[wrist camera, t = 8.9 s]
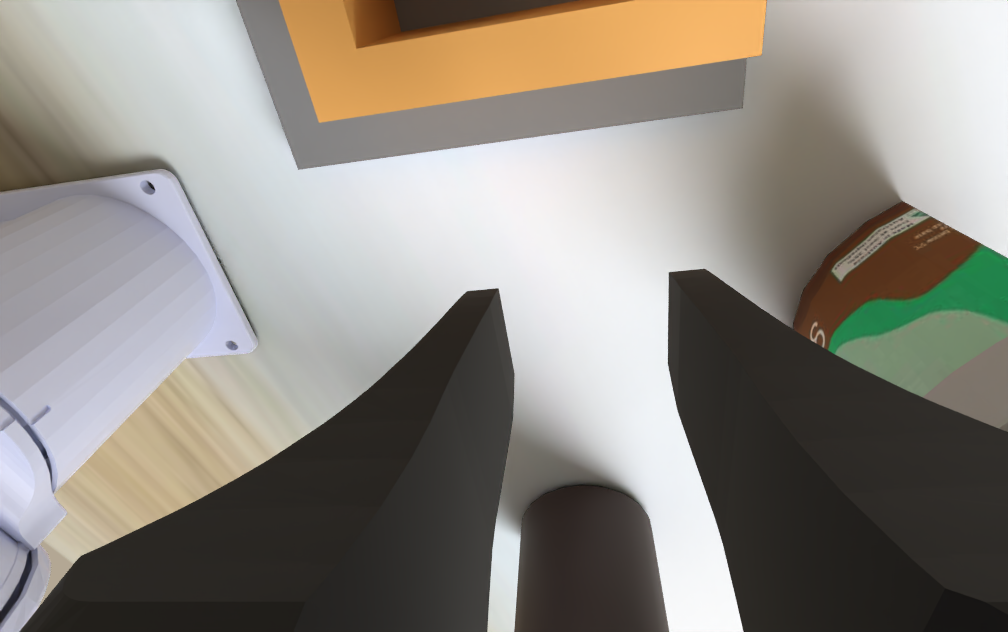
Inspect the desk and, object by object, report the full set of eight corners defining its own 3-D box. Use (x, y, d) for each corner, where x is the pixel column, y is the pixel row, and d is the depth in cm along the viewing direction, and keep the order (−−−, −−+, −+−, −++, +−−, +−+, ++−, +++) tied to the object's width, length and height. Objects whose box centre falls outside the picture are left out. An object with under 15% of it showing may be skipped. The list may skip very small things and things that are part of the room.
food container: (705, 259, 19) (819, 481, 11) (889, 164, 17) (1216, 352, 8) (822, 461, 24) (962, 720, 16) (976, 409, 22) (1238, 681, 13)
